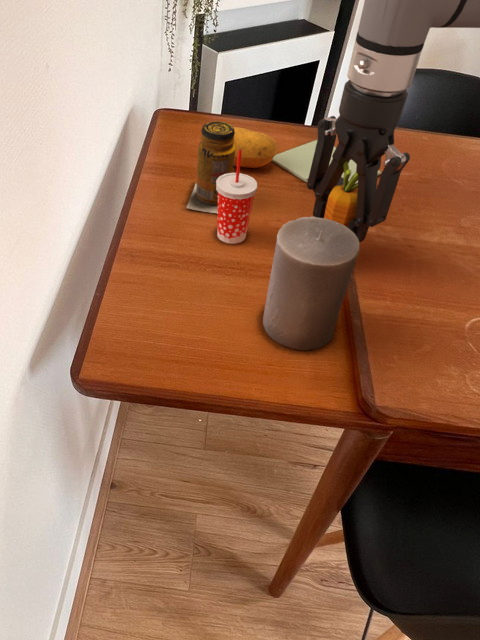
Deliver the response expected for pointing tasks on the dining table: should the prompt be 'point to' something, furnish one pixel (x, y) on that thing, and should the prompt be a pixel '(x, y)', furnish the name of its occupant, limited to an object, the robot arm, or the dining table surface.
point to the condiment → (212, 164)
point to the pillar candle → (309, 281)
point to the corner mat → (306, 161)
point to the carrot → (343, 200)
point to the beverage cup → (234, 204)
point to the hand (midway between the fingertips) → (332, 246)
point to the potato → (253, 148)
